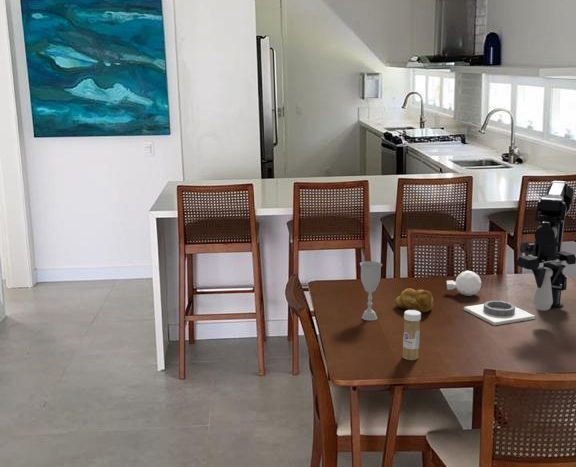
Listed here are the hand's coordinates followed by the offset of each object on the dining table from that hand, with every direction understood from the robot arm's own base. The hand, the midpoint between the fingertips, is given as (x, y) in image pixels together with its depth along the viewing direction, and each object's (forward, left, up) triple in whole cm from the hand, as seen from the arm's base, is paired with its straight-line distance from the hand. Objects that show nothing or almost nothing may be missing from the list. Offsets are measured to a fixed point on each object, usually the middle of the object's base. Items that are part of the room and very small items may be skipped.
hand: (544, 286), depth 224 cm
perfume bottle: (+4, -35, -13) cm, 37 cm away
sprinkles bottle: (+52, +7, -13) cm, 54 cm away
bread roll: (+29, -28, -13) cm, 42 cm away
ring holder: (+6, -13, -12) cm, 19 cm away
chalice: (+47, -26, -13) cm, 55 cm away
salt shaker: (0, 0, -7) cm, 7 cm away
